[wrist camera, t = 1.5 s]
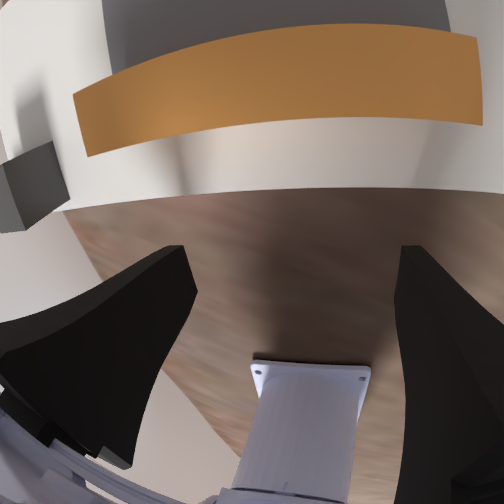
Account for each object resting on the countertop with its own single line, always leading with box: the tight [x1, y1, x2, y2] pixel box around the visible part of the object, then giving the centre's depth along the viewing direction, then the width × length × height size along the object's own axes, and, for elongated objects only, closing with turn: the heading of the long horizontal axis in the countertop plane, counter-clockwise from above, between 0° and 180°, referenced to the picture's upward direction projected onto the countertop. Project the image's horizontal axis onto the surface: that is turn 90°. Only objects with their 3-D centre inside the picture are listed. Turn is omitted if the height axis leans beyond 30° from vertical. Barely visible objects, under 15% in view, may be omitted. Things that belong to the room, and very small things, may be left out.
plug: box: [0, 141, 70, 233], centre depth 11 cm, size 4×3×3 cm
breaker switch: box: [72, 23, 483, 157], centre depth 6 cm, size 2×10×2 cm, turn 99°
